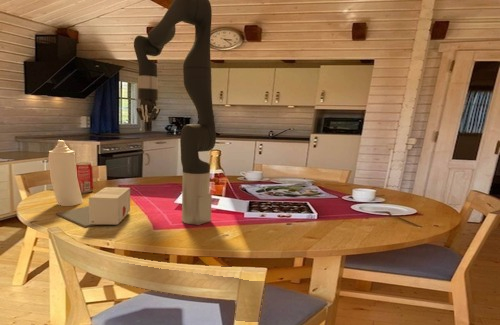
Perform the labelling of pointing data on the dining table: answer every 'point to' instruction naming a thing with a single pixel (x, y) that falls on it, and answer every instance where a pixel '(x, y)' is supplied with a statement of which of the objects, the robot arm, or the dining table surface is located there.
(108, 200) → the supplement box
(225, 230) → the dining table surface
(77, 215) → the mat
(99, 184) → the dining table surface
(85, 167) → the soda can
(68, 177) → the white bottle
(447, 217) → the dining table surface
